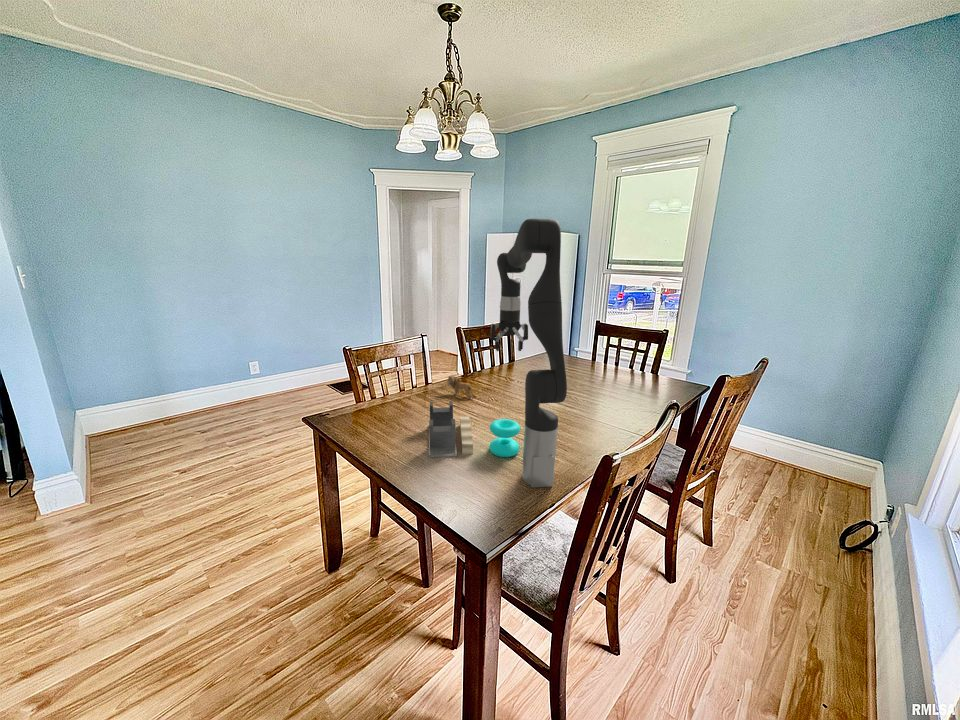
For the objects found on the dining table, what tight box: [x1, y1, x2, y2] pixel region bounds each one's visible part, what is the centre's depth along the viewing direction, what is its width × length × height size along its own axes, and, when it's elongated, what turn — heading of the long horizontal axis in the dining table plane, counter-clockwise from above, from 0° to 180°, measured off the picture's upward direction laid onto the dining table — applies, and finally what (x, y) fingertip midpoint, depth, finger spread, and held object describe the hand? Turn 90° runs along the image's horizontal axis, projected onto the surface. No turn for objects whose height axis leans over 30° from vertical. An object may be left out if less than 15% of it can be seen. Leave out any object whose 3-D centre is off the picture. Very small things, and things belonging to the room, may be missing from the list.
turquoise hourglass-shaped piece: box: [488, 418, 521, 458], centre depth 127 cm, size 10×10×10 cm
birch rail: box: [459, 416, 474, 455], centre depth 136 cm, size 22×4×4 cm, turn 5°
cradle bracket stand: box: [428, 400, 458, 458], centre depth 134 cm, size 24×9×10 cm, turn 7°
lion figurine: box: [446, 375, 477, 400], centre depth 176 cm, size 15×5×9 cm, turn 66°
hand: (508, 350), depth 147 cm, fingers open, 8 cm apart
